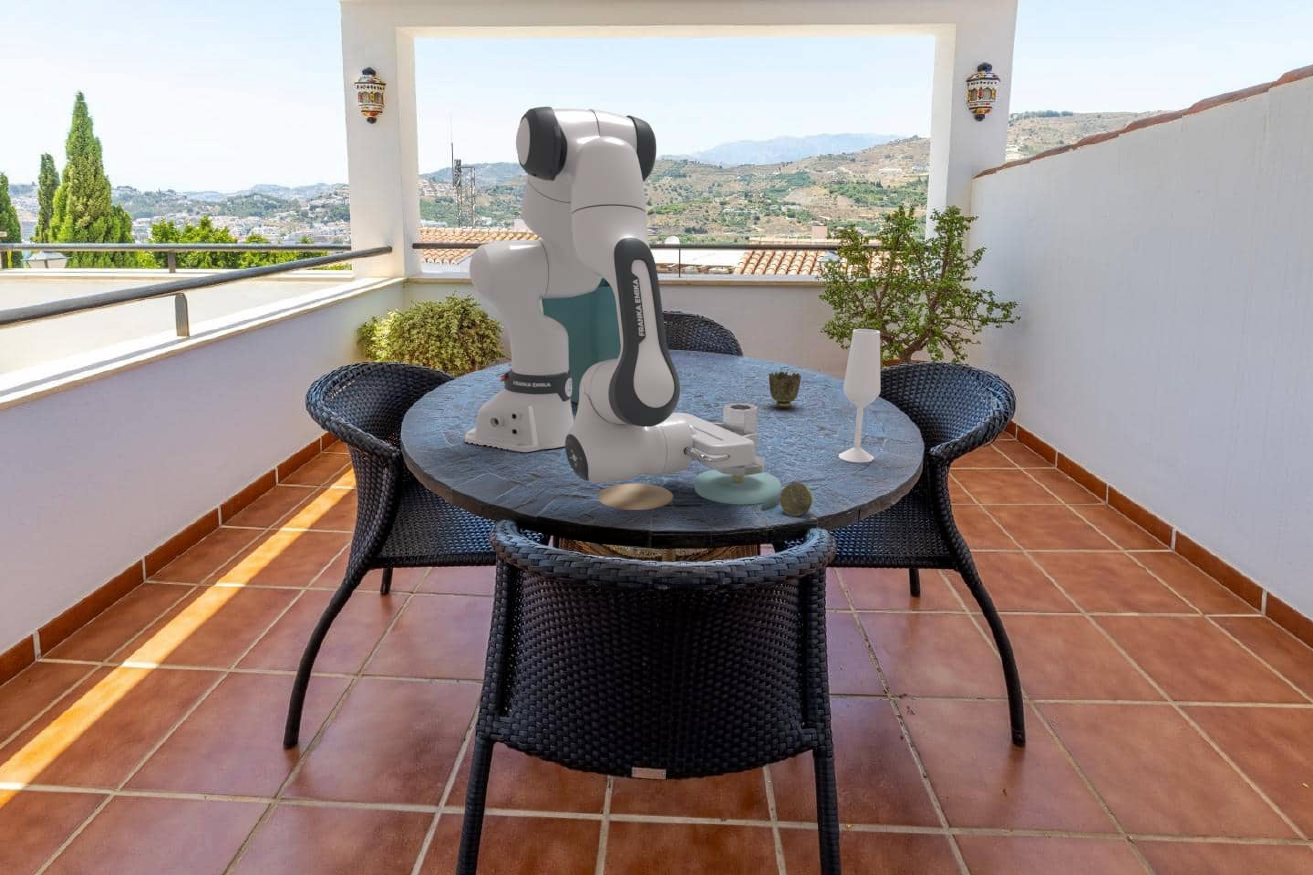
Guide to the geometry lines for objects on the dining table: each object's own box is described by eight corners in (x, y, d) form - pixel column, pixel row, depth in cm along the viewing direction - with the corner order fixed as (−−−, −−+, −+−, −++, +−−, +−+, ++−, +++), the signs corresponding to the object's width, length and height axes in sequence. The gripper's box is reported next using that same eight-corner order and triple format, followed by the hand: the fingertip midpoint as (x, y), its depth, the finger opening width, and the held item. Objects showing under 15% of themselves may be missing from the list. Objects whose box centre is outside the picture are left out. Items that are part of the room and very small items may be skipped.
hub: (685, 506, 131) (686, 466, 129) (704, 478, 144) (705, 442, 142) (774, 515, 127) (776, 475, 125) (785, 486, 140) (787, 449, 138)
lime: (814, 518, 126) (816, 487, 125) (783, 519, 126) (785, 488, 125) (806, 507, 131) (808, 477, 129) (776, 508, 130) (778, 478, 129)
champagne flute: (831, 453, 159) (840, 329, 152) (860, 450, 161) (870, 327, 155) (851, 464, 153) (861, 334, 146) (881, 460, 155) (893, 332, 149)
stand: (586, 512, 128) (586, 504, 127) (611, 487, 139) (611, 480, 139) (662, 520, 125) (662, 513, 124) (680, 494, 136) (680, 487, 136)
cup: (804, 406, 195) (806, 373, 193) (791, 413, 189) (793, 378, 187) (775, 402, 199) (777, 369, 197) (762, 408, 193) (763, 374, 191)
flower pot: (541, 399, 199) (537, 280, 191) (605, 388, 212) (604, 276, 204) (592, 415, 185) (591, 287, 177) (658, 402, 198) (660, 282, 190)
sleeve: (708, 472, 131) (710, 411, 129) (718, 457, 139) (720, 399, 136) (759, 477, 129) (762, 415, 126) (767, 462, 137) (770, 403, 134)
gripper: (706, 440, 117) (785, 429, 123) (639, 409, 134) (711, 401, 141) (705, 483, 119) (782, 469, 125) (638, 447, 136) (710, 437, 142)
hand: (744, 433), depth 133 cm, fingers closed on sleeve, 5 cm apart
